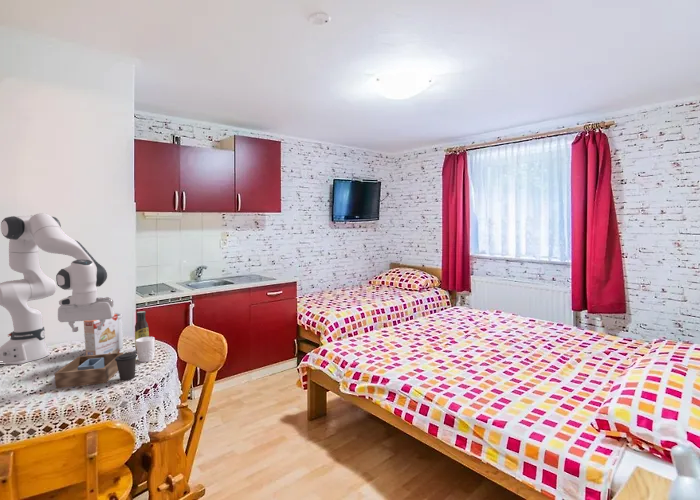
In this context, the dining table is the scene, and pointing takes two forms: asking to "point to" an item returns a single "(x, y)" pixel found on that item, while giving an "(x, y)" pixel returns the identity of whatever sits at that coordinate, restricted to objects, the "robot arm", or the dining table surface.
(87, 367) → the small crate
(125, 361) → the coffee cup
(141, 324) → the sauce bottle
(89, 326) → the cracker box
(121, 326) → the white container
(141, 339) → the white cup
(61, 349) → the dining table surface
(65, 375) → the big crate
